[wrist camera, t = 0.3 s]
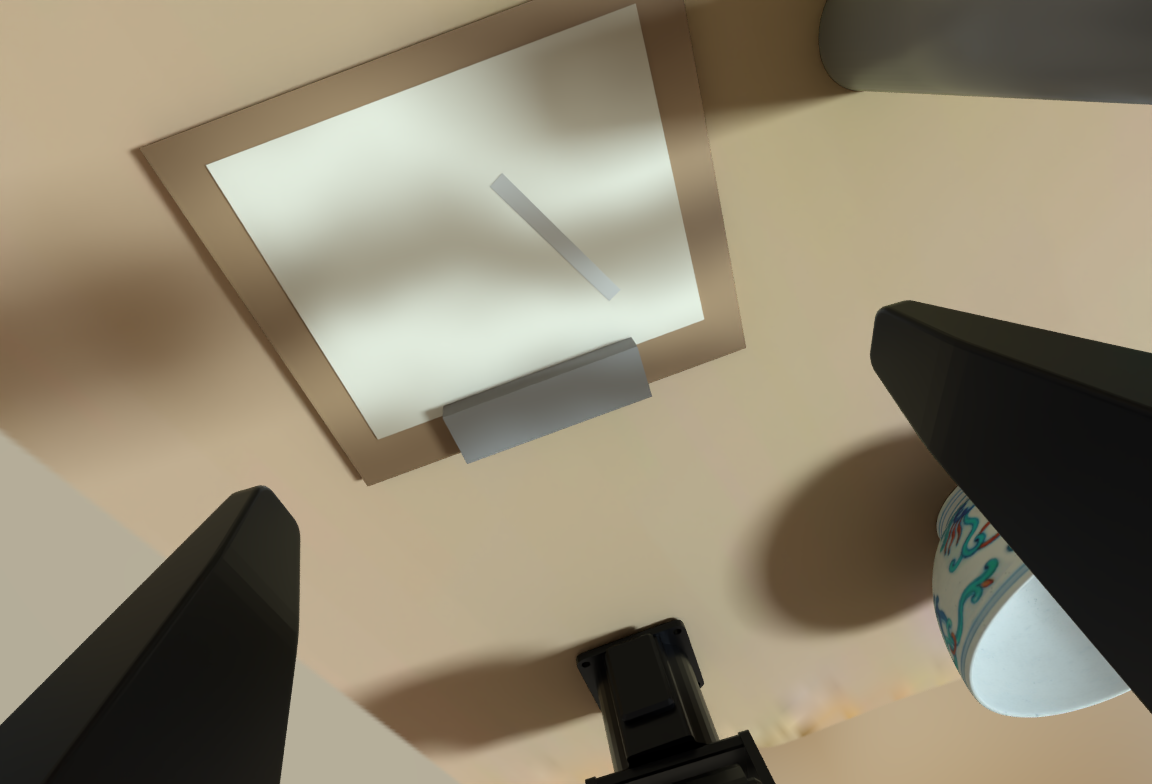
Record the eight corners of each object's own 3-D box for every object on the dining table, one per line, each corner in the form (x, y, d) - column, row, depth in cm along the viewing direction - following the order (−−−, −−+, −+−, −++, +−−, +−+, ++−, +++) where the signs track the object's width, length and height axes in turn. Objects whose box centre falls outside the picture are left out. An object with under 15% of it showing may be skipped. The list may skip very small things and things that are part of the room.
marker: (932, 70, 20) (1500, 66, 9) (821, 111, 20) (1250, 159, 9) (934, -74, 18) (1675, -306, 7) (810, -27, 18) (1350, -184, 7)
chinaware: (911, 632, 37) (1007, 753, 31) (828, 500, 30) (930, 621, 24) (1132, 508, 35) (1289, 611, 28) (1099, 332, 28) (1299, 415, 21)
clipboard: (740, 341, 24) (756, 358, 23) (369, 477, 25) (364, 501, 23) (668, -50, 17) (685, -61, 16) (148, 146, 18) (122, 152, 16)
